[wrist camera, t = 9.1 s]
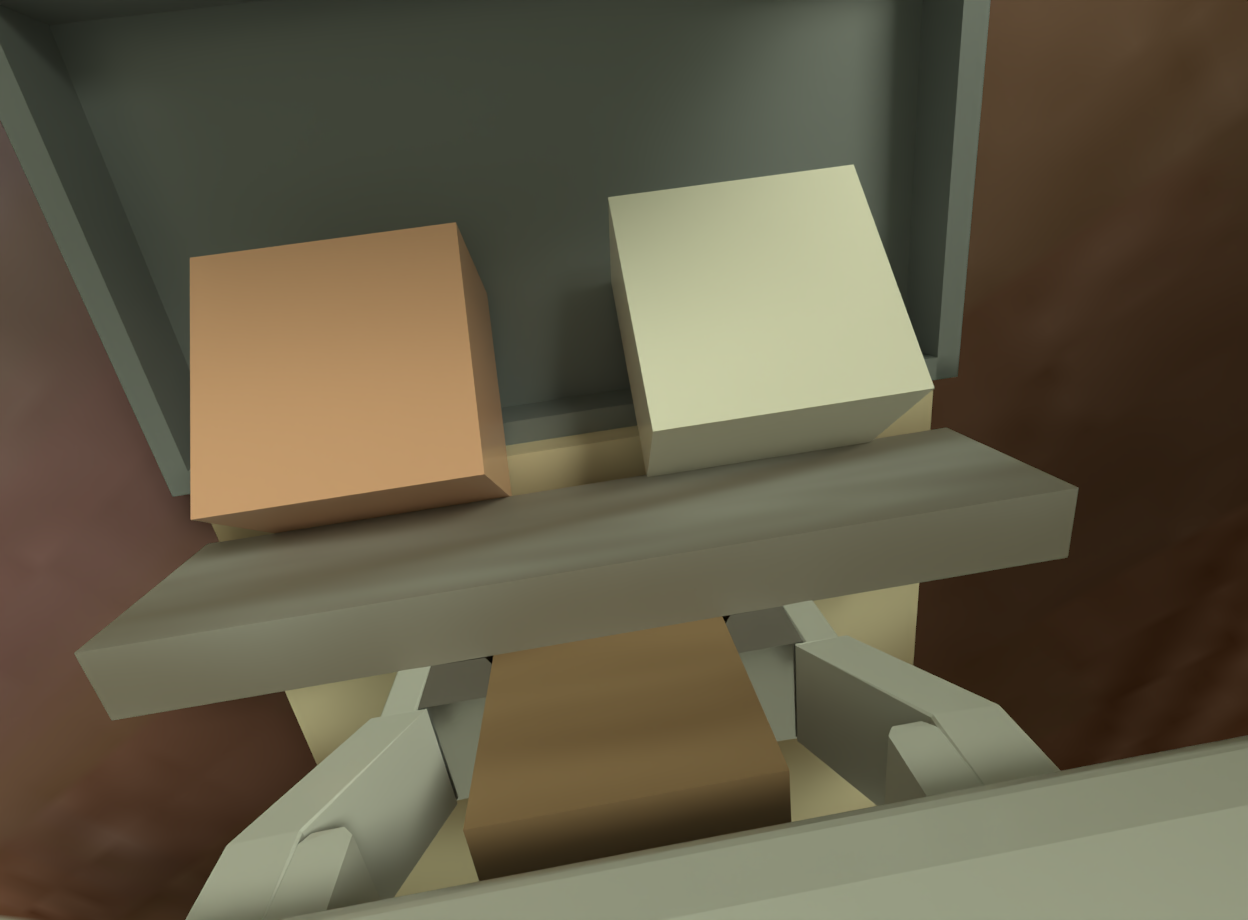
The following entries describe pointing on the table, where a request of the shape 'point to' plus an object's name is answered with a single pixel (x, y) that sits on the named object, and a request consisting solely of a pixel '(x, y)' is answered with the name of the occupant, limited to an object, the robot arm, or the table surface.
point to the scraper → (587, 623)
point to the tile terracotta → (342, 381)
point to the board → (578, 462)
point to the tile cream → (759, 319)
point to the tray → (474, 155)
